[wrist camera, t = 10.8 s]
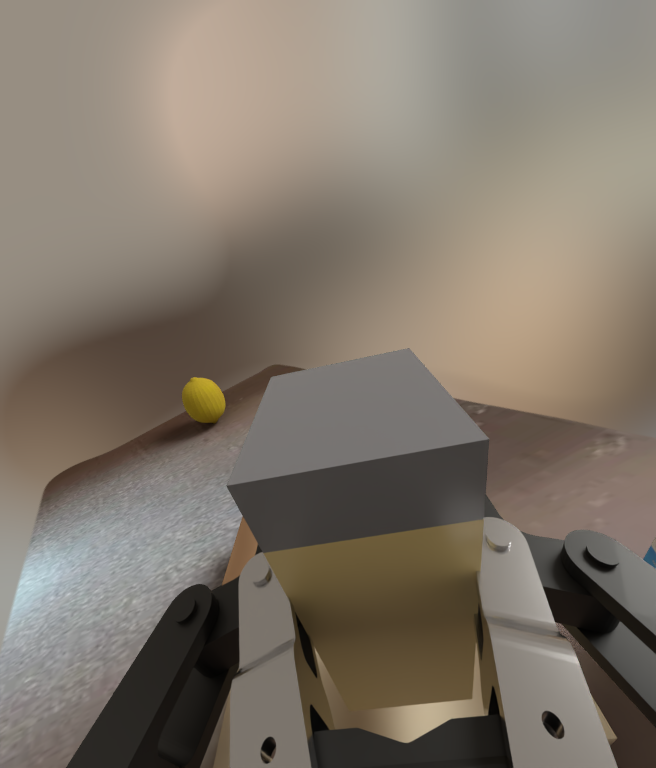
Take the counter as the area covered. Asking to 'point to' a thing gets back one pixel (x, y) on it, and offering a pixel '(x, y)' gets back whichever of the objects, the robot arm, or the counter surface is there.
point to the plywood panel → (389, 716)
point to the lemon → (203, 400)
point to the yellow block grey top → (372, 523)
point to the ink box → (651, 555)
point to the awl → (239, 558)
